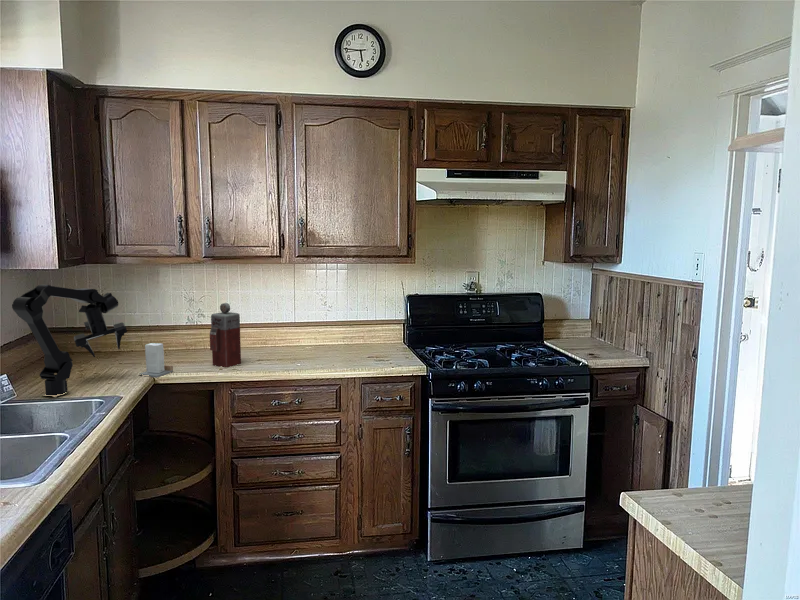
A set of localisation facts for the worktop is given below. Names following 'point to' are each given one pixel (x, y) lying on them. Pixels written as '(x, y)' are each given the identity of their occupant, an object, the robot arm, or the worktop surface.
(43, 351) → the robot arm
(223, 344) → the red french press
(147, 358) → the skincare box
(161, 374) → the plate
